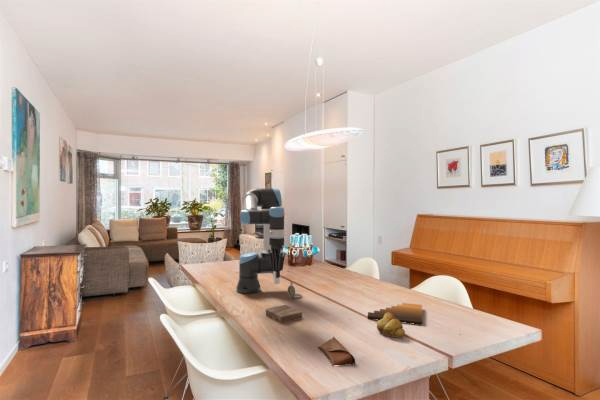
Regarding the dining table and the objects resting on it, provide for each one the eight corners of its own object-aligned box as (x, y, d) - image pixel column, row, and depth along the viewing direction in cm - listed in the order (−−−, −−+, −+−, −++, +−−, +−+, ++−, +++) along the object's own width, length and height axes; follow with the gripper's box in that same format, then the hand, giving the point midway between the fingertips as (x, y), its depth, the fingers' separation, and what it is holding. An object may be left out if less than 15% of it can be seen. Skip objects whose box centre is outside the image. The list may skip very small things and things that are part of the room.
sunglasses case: (315, 346, 137) (323, 330, 138) (329, 353, 139) (337, 337, 140) (333, 367, 120) (342, 349, 121) (349, 375, 122) (358, 357, 123)
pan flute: (367, 320, 168) (422, 326, 160) (367, 313, 168) (422, 319, 160) (374, 305, 192) (422, 310, 184) (374, 299, 192) (422, 303, 184)
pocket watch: (303, 296, 207) (303, 279, 207) (298, 300, 199) (298, 282, 199) (290, 295, 210) (290, 278, 210) (285, 298, 202) (285, 281, 202)
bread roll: (410, 338, 146) (410, 319, 146) (391, 342, 142) (391, 322, 142) (390, 327, 158) (390, 310, 158) (372, 331, 154) (372, 313, 154)
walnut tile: (265, 309, 173) (281, 317, 162) (285, 304, 180) (301, 311, 169) (265, 316, 173) (281, 324, 162) (285, 311, 180) (301, 319, 169)
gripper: (263, 236, 179) (263, 282, 179) (277, 239, 168) (277, 287, 169) (275, 235, 183) (275, 279, 184) (290, 238, 173) (290, 285, 174)
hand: (276, 283), depth 176 cm, fingers closed
